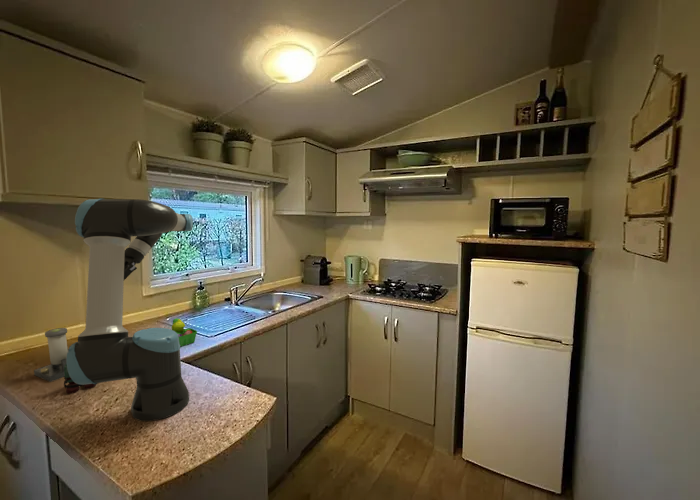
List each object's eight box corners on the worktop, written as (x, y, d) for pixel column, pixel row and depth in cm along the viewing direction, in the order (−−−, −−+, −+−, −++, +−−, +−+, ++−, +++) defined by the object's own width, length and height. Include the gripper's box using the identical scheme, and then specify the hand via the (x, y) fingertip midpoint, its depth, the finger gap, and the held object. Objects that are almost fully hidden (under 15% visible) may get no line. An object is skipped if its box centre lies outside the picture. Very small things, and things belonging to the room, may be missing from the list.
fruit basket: (172, 350, 140) (171, 324, 138) (163, 345, 145) (161, 320, 144) (198, 342, 149) (197, 318, 147) (188, 337, 154) (187, 314, 153)
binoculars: (62, 370, 102) (61, 356, 109) (65, 400, 104) (64, 385, 111) (98, 361, 108) (95, 349, 115) (100, 390, 110) (97, 376, 117)
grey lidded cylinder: (54, 366, 116) (49, 334, 115) (45, 363, 119) (41, 331, 117) (74, 359, 122) (70, 328, 120) (65, 356, 124) (61, 326, 123)
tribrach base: (49, 382, 113) (48, 366, 113) (34, 375, 118) (32, 360, 117) (86, 368, 123) (85, 354, 123) (70, 362, 128) (69, 349, 127)
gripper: (152, 257, 142) (115, 306, 129) (134, 256, 148) (97, 302, 135) (138, 247, 136) (99, 296, 124) (120, 246, 142) (80, 293, 130)
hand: (98, 299), depth 130 cm, fingers closed
